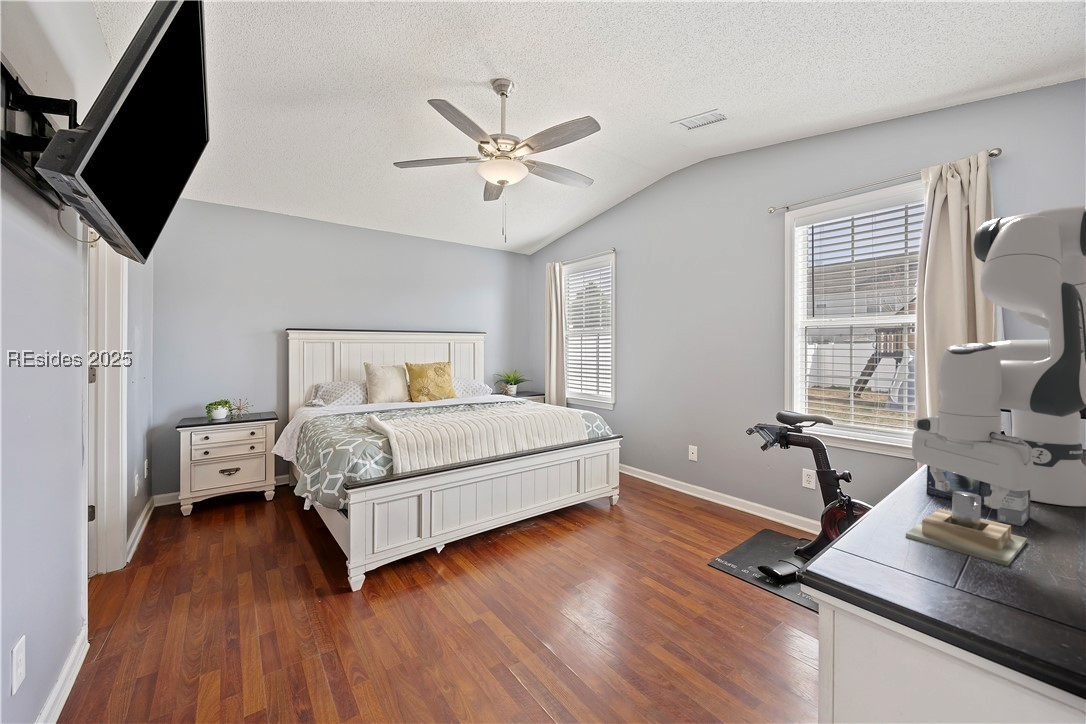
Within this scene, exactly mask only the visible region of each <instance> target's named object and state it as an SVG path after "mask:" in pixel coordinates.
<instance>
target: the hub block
mask: <svg viewBox="0 0 1086 724" xmlns="http://www.w3.org/2000/svg"><path fill="white" fill-rule="evenodd" d="M905 538H909V539H912V540H915V541H918V542H922V543H926V544H928V545H929V544H930V545H932V546H936V547H940V548H944V549H946V550H950V551H953V552H957V553H960V554H964V555H967V556H971V557H974V558H977V559H981V560H985V561H988V562H992V563H995V564H999V565H1003V566H1006V567H1009V565H1010V564H1011V563H1012V561H1013V560H1014V559H1015V558H1016V556H1017V555H1019V553H1020V551H1021V550H1022V549H1023V548H1024V546H1025V545H1026V544H1027V543H1028V538H1027V537H1025V536H1019V535H1016V534H1012V524H1007V523H1003V522H999V521H998V522H997V521H993V520H989V519H984V518H981V520H980V531H979V530H975V529H971V528H967V527H963V526H959V525H955V524H952V511H950V510H945V509H942V508H939V509H936V511H934V512H932V513H931V514H929V515H928V516H926V517H925V518H923V519H922V520H921V522H920V523H918V524H917V525H916V526H914V527H912V528H911V529H909V530H908V531H906V532H905Z"/></svg>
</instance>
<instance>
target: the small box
mask: <svg viewBox="0 0 1086 724" xmlns="http://www.w3.org/2000/svg"><path fill="white" fill-rule="evenodd" d="M943 474H944V476H945V479H946V481H948V482H950V486H949V487H950V490H949V491H942V490H939V489H936V488H935V480H934V478H933V476H932V474H931V472H930V466H929V465H926V493H925V494H926V495H930V496H933V497H938V498H941V499H944V500H948V501H952V496H953V492H955V491H960V492H968V493H973V494H976V495H979V496H981V508H984V507H986V506H985V505H984V502H985V501H984V497H990V496H991V494H992V493H993V490H991V489H990V484H989V483H985V482H982V481H979V480H975V479H972V478H969V477H965V476H962V475H959V474H955V473H952V472H949V471H946V472H943Z"/></svg>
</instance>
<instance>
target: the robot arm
mask: <svg viewBox="0 0 1086 724" xmlns="http://www.w3.org/2000/svg"><path fill="white" fill-rule="evenodd" d="M972 249H973V251H974V255H975V257H976V259H977V260H980V261H981V262H983V263H984V265H983V268H982V273H981V277H980V290H981V293H982V295H983V296H984V297H985V298H986V299H987V300H988V301H990V302H991V303H993V304H995V305H996V306H999V307H1001V308H1003V309H1006V310H1009V311H1014V312H1015V314H1016V317H1017V318H1018V319H1019V320H1020V321H1021V322H1023V323H1025V324H1027V325H1029V326H1032V327H1035V328H1039V329H1043V330H1045V331H1048V334H1049V338H1048V339H1006V340H999V341H993V342H987V343H986V342H985V343H981V342H974V343H973V342H971V343H969V342H967V343H958V344H953V345H951V346H948V347H947V348H945V349H944V350H943V352H942V353H943V354H942V356H941V360H940V363H939V364H940V366H939V372H938V384H937V385H938V387H937V390H938V393H939V395H940V401H939V405H938V407H937V415H934V416H928V417H922V418H920V417H919V418H915V419H913V424H912V425H913V428H914V429H915V431H914V432H913V434H912V440H911V455H912V458H913V459H914V461H915V462H916V463H919V464H923V465H926V466H927V465H929V466H930V472H931V474H932V476H933V478H934V480H935V488H936V489H939V490H942V491H949V490H950V487H949V486H950V482H948V481H946V479H945V476H944V474H943V472H946V471H949V472H952V473H955V474H959V475H962V476H965V477H969V478H972V479H975V480H979V481H982V482H985V483H989V484H990V489H991V490H992V494H991V496H990V497H984V501H985V502H984V505H985V506H984V507H987V508H991V509H995V510H997V509H999V508H1001V500H1002V499H1003V498H1004V497H1005V496H1006V495H1007V494H1008V493H1009V490H1012V491H1027V490H1030V501H1035V502H1039V503H1045V504H1049V505H1051V504H1052V505H1058V506H1067V507H1086V465H1085V464H1084V463H1083V462H1082V460H1081V459H1083V453H1084V449H1083V444H1082V443H1080V442H1081V422H1082V421H1081V419H1082V418H1081V417H1082V416H1081V413H1080V411H1082V410H1084V409H1086V205H1077V206H1076V205H1071V206H1063V207H1061V206H1060V207H1052V208H1046V209H1045V208H1044V209H1041V210H1038V211H1033V212H1032V211H1031V212H1027V213H1022V214H1021V213H1020V214H1017V215H1016V214H1015V215H1013V216H1008V217H1002V216H1001V217H998V218H995V219H991V220H988V221H985V222H984V223H983V224H982V225H980V227H978V228H977V230H976V231H975V234H974V237H973V242H972ZM1001 409H1002V410H1009V411H1010V412H1011V427H1012V428H1011V436H1010V435H1007V434H1002V431H1001V430H1002V410H1001Z"/></svg>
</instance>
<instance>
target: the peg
mask: <svg viewBox="0 0 1086 724" xmlns="http://www.w3.org/2000/svg"><path fill="white" fill-rule="evenodd" d="M951 502H952V503H951V505H952V506H951V512H952V524H955V525H959V526H963V527H967V528H971V529H975V530H979V531H980V520H981V519H982V518H981V517H982V514H981V513H982V507H981V496H979V495H976V494H973V493H968V492H960V491H955V492H953V496H952V500H951Z"/></svg>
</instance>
